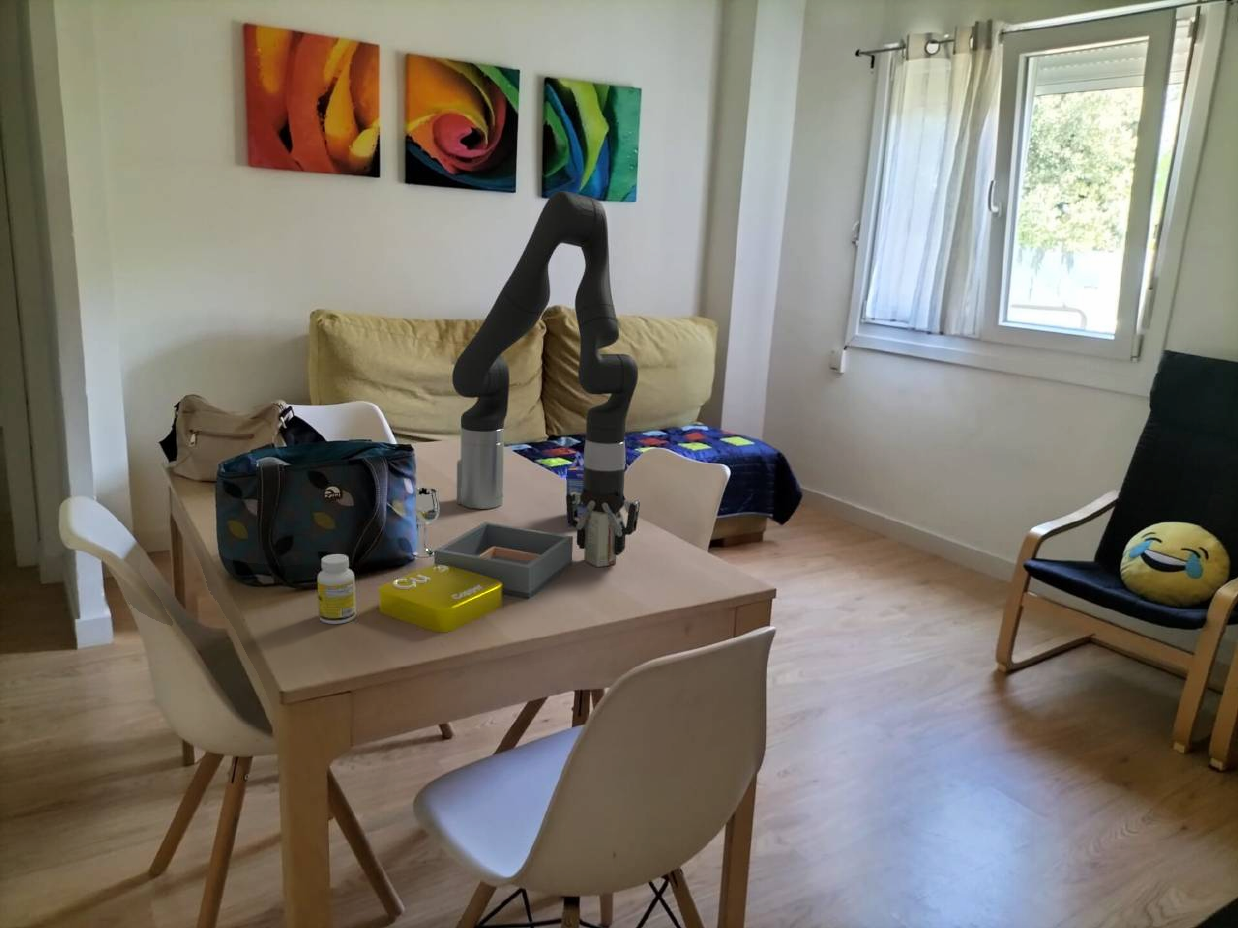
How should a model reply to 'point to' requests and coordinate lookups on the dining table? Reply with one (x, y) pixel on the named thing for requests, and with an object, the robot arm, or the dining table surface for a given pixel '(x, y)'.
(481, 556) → the box
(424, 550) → the wineglass
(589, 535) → the skincare box
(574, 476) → the ink cartridge box
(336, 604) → the supplement bottle
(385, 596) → the element tile
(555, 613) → the dining table surface
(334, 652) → the dining table surface
